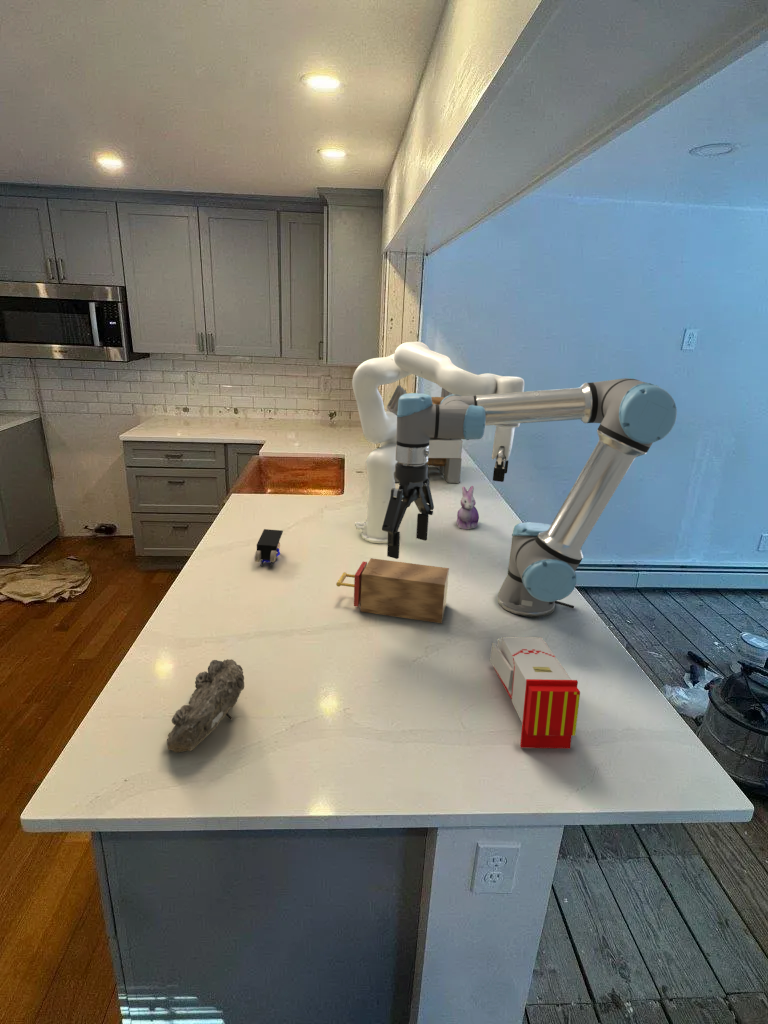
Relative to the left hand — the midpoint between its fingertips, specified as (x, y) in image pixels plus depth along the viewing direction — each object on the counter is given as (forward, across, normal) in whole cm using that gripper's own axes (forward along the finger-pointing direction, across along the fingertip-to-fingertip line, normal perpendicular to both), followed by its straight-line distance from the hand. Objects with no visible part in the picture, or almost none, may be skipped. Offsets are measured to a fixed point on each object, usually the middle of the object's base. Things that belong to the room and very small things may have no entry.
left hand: (499, 476), depth 170 cm
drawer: (+28, +38, -23) cm, 53 cm away
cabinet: (+28, +38, -18) cm, 51 cm away
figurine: (+28, -30, -12) cm, 43 cm away
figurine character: (+29, +24, -65) cm, 75 cm away
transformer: (+29, -92, -45) cm, 106 cm away
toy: (+28, +66, +15) cm, 73 cm away
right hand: (+8, +45, -16) cm, 48 cm away
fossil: (+28, +92, -41) cm, 105 cm away
